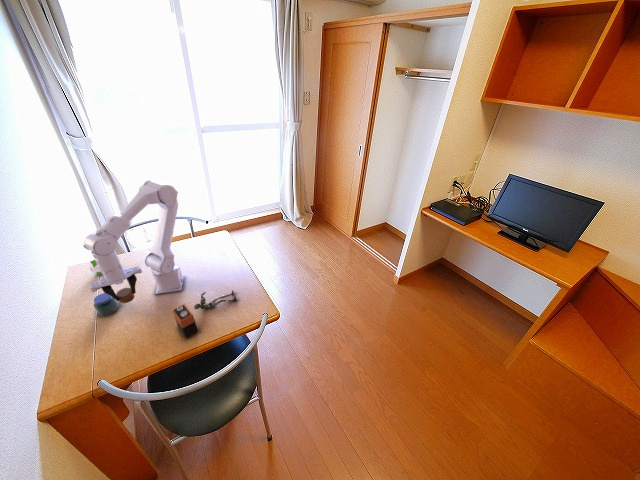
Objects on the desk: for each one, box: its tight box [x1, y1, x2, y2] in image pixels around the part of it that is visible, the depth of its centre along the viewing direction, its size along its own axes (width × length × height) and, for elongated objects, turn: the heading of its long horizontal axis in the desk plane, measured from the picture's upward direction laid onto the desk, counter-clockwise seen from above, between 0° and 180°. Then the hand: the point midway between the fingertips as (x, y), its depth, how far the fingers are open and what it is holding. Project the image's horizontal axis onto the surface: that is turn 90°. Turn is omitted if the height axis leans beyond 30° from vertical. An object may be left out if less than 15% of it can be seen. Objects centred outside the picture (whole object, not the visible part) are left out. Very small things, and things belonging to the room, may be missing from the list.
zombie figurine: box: [193, 290, 237, 310], centre depth 102 cm, size 5×7×15 cm
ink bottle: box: [93, 292, 120, 317], centre depth 97 cm, size 6×6×6 cm
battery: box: [172, 303, 199, 339], centre depth 91 cm, size 4×7×10 cm, turn 46°
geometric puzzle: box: [89, 259, 103, 276], centre depth 114 cm, size 7×7×8 cm
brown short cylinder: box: [115, 287, 136, 304], centre depth 95 cm, size 5×5×3 cm
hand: (125, 295), depth 95 cm, fingers closed on brown short cylinder, 4 cm apart
